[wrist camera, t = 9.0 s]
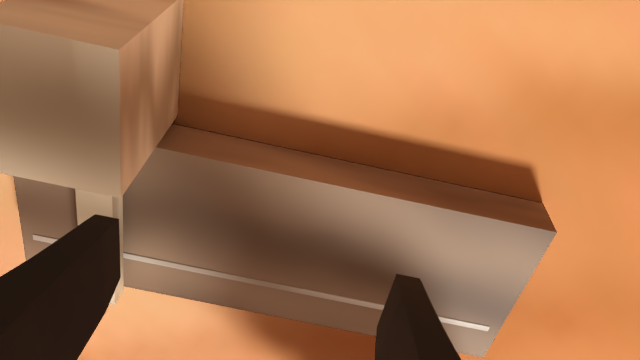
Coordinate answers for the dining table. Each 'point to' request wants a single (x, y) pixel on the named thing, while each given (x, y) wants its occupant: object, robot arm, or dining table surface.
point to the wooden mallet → (87, 94)
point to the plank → (309, 235)
